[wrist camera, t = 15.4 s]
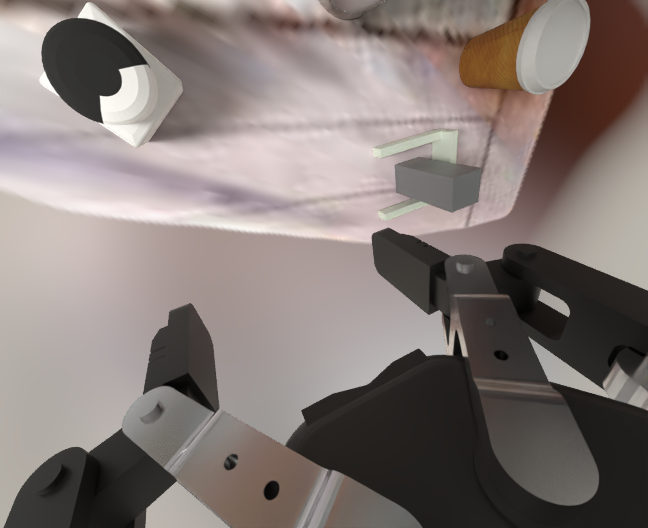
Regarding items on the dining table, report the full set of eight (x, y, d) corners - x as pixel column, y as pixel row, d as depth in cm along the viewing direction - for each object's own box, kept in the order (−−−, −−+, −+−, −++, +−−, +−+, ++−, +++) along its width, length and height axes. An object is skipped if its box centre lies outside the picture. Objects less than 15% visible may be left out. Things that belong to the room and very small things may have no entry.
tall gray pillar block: (396, 192, 46) (451, 212, 36) (394, 164, 44) (453, 178, 34) (419, 184, 47) (478, 201, 37) (418, 156, 45) (482, 167, 35)
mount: (378, 217, 47) (392, 225, 44) (372, 147, 41) (388, 150, 38) (436, 196, 50) (453, 201, 47) (438, 128, 44) (458, 129, 41)
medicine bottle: (69, 89, 26) (-2, 73, 17) (110, 24, 26) (61, -33, 16) (147, 143, 30) (127, 156, 21) (184, 89, 30) (182, 75, 20)
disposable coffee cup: (504, 71, 44) (593, 58, 35) (460, 113, 44) (537, 111, 35) (491, 4, 39) (593, -34, 29) (441, 51, 39) (526, 29, 29)
